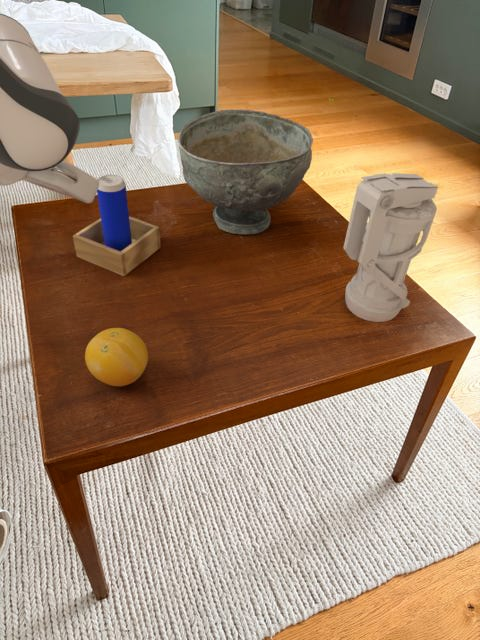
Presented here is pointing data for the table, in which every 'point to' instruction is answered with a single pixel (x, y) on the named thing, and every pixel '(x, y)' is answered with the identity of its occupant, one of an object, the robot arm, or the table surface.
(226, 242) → the table surface
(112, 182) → the beverage can
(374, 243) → the lantern
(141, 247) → the wooden tray
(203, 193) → the decorative bowl
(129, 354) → the fruit
